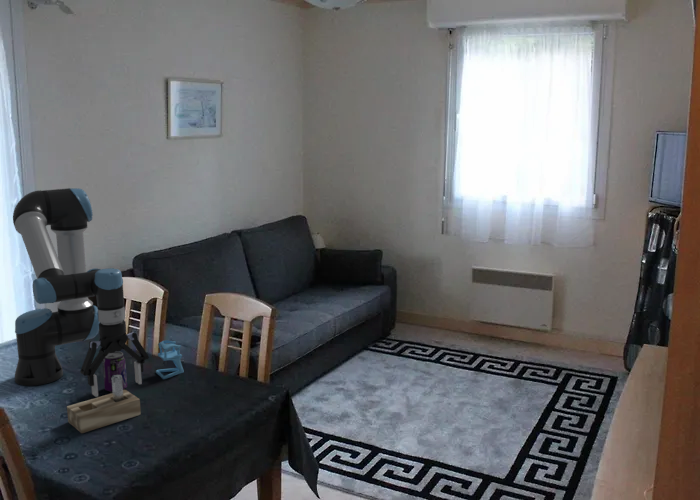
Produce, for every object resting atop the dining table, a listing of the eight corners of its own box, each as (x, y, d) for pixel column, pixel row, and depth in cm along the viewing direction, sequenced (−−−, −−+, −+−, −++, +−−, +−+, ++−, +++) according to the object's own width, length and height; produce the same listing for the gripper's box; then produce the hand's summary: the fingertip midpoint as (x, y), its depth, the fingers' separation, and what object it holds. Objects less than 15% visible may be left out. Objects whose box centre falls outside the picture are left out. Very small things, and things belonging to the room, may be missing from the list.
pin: (112, 413, 207) (109, 376, 205) (122, 410, 209) (119, 373, 207) (116, 416, 205) (113, 379, 203) (126, 413, 207) (123, 376, 205)
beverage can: (120, 394, 222) (117, 359, 219) (100, 392, 223) (97, 357, 221) (131, 385, 228) (128, 351, 226) (112, 384, 230) (109, 350, 228)
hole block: (68, 422, 202) (66, 406, 201) (126, 404, 214) (125, 389, 213) (81, 433, 195) (80, 417, 194) (140, 414, 206) (139, 399, 205)
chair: (186, 374, 238) (184, 341, 236) (163, 379, 234) (161, 346, 231) (178, 367, 244) (176, 335, 242) (155, 372, 240) (153, 340, 238)
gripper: (74, 333, 190) (81, 404, 195) (157, 315, 207) (161, 381, 211) (64, 327, 196) (71, 396, 200) (145, 310, 212) (150, 374, 216)
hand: (117, 389), depth 206 cm, fingers open, 13 cm apart
